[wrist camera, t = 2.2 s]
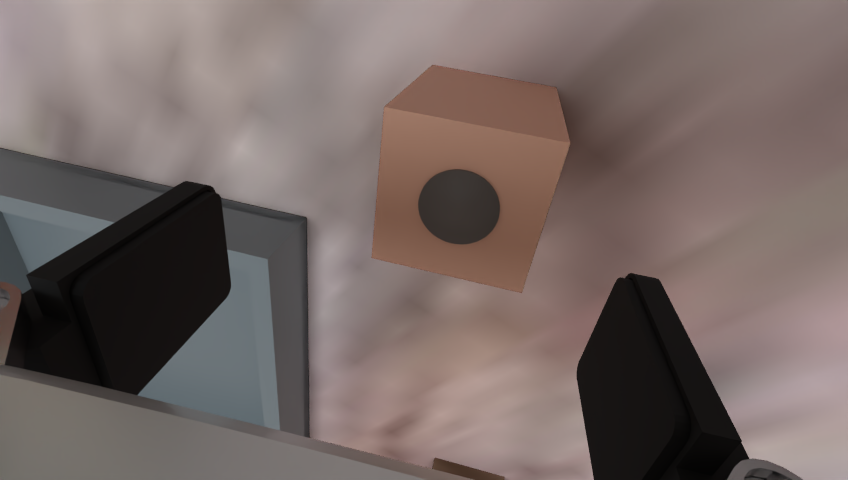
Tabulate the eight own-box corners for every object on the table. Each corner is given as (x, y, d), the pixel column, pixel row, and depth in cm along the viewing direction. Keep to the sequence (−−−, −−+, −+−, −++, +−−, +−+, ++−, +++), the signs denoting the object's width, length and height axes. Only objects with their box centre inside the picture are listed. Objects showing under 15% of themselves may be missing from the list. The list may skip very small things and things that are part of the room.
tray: (306, 217, 23) (267, 259, 19) (309, 443, 33) (284, 495, 30) (-26, 142, 25) (-113, 168, 21) (77, 377, 35) (29, 419, 32)
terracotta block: (556, 87, 17) (570, 144, 11) (523, 199, 20) (521, 294, 14) (432, 64, 18) (382, 107, 12) (417, 177, 20) (370, 259, 14)
